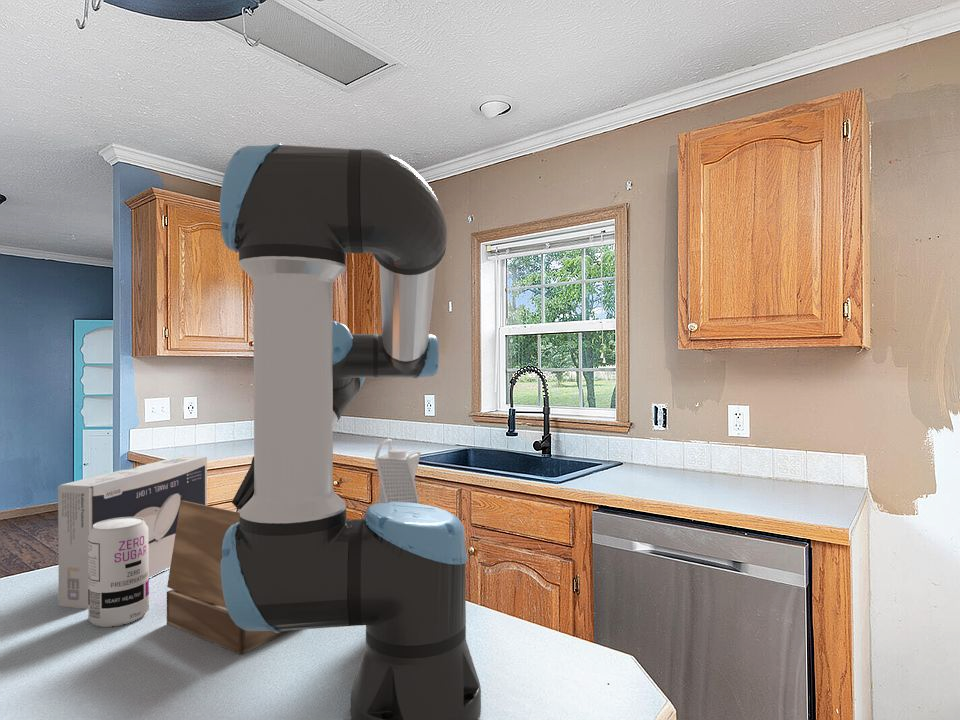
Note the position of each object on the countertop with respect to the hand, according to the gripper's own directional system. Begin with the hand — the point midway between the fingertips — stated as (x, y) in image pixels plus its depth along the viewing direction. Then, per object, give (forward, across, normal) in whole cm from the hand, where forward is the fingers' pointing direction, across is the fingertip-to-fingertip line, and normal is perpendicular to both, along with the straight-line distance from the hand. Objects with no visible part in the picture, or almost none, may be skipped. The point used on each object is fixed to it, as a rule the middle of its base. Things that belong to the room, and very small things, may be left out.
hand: (221, 551), depth 92 cm
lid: (+7, -1, -2) cm, 7 cm away
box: (+6, -1, -10) cm, 12 cm away
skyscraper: (-3, -21, -20) cm, 29 cm away
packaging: (+4, +33, -12) cm, 35 cm away
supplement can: (+13, +17, -4) cm, 22 cm away
